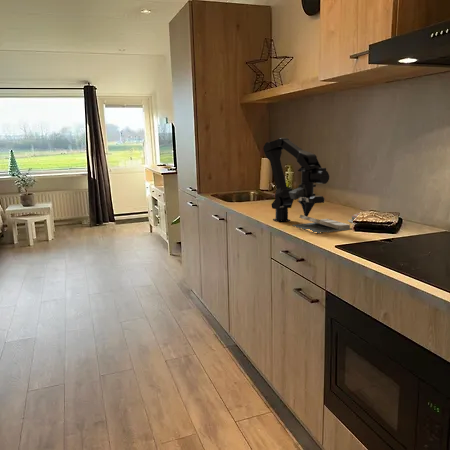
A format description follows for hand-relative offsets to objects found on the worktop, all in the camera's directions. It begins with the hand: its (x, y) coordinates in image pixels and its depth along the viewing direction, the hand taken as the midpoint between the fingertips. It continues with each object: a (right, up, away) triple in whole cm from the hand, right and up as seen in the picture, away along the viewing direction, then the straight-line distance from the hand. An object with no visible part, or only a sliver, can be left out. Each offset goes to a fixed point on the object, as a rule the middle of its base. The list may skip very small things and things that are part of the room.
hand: (306, 216), depth 191 cm
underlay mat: (+7, -5, -2) cm, 8 cm away
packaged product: (+28, -4, +4) cm, 29 cm away
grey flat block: (+13, -4, +1) cm, 13 cm away
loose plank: (+5, -3, -3) cm, 6 cm away
